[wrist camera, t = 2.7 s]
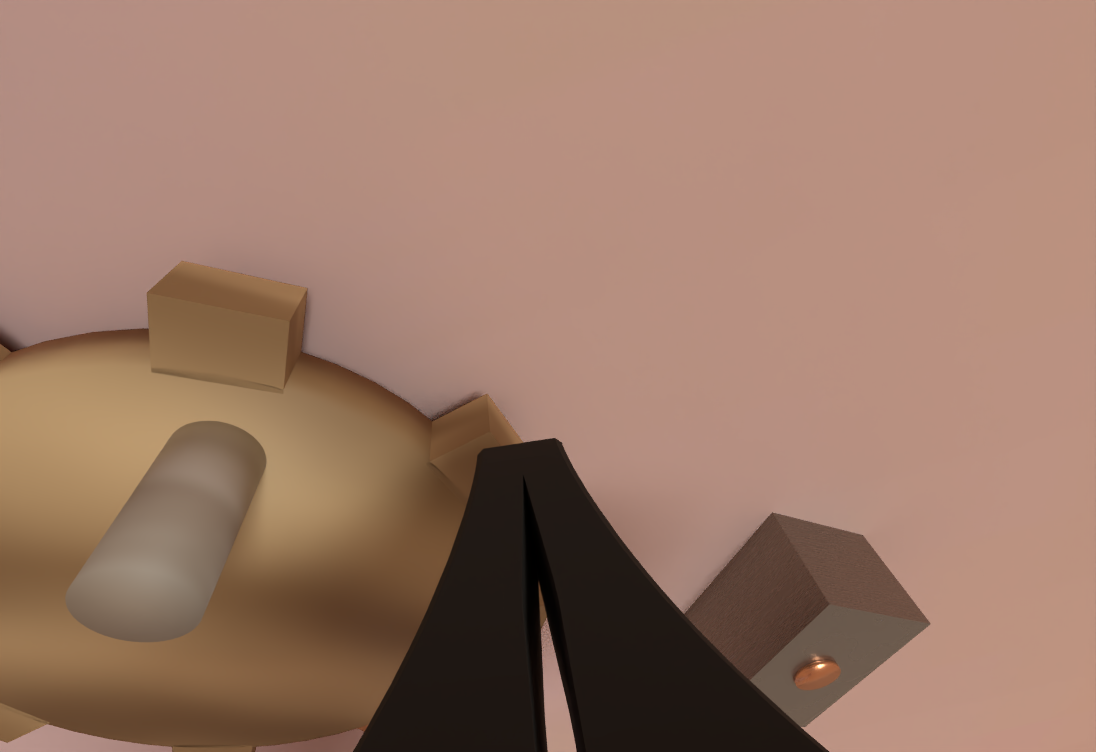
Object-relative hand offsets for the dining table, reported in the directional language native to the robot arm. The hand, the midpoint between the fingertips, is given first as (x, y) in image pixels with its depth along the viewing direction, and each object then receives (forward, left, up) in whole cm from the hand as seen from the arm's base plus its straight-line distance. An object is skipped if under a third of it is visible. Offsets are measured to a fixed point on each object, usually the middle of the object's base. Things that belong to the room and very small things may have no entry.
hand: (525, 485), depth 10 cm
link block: (-7, -12, -5) cm, 14 cm away
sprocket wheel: (-7, +5, -4) cm, 10 cm away
